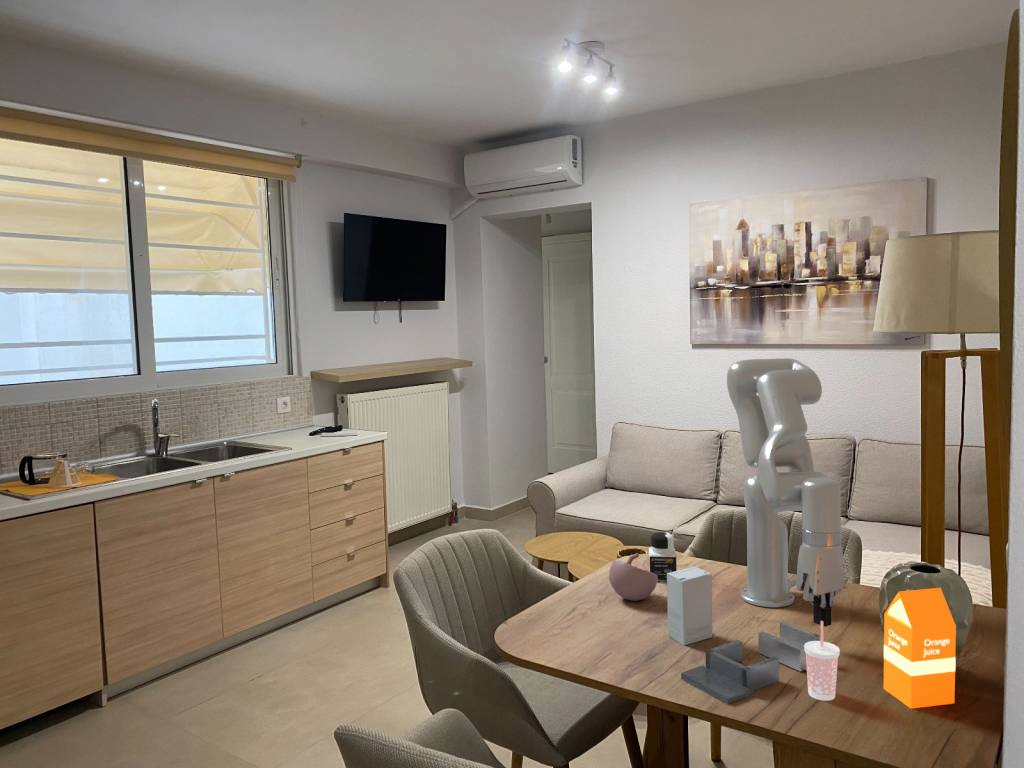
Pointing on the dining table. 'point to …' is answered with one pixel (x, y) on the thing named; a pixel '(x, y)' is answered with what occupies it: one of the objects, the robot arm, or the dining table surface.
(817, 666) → the beverage cup
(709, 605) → the skincare box
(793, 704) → the dining table surface
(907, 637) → the orange juice
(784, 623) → the gray u-channel trough
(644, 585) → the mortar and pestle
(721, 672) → the fixed leaf
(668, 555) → the medicine bottle
